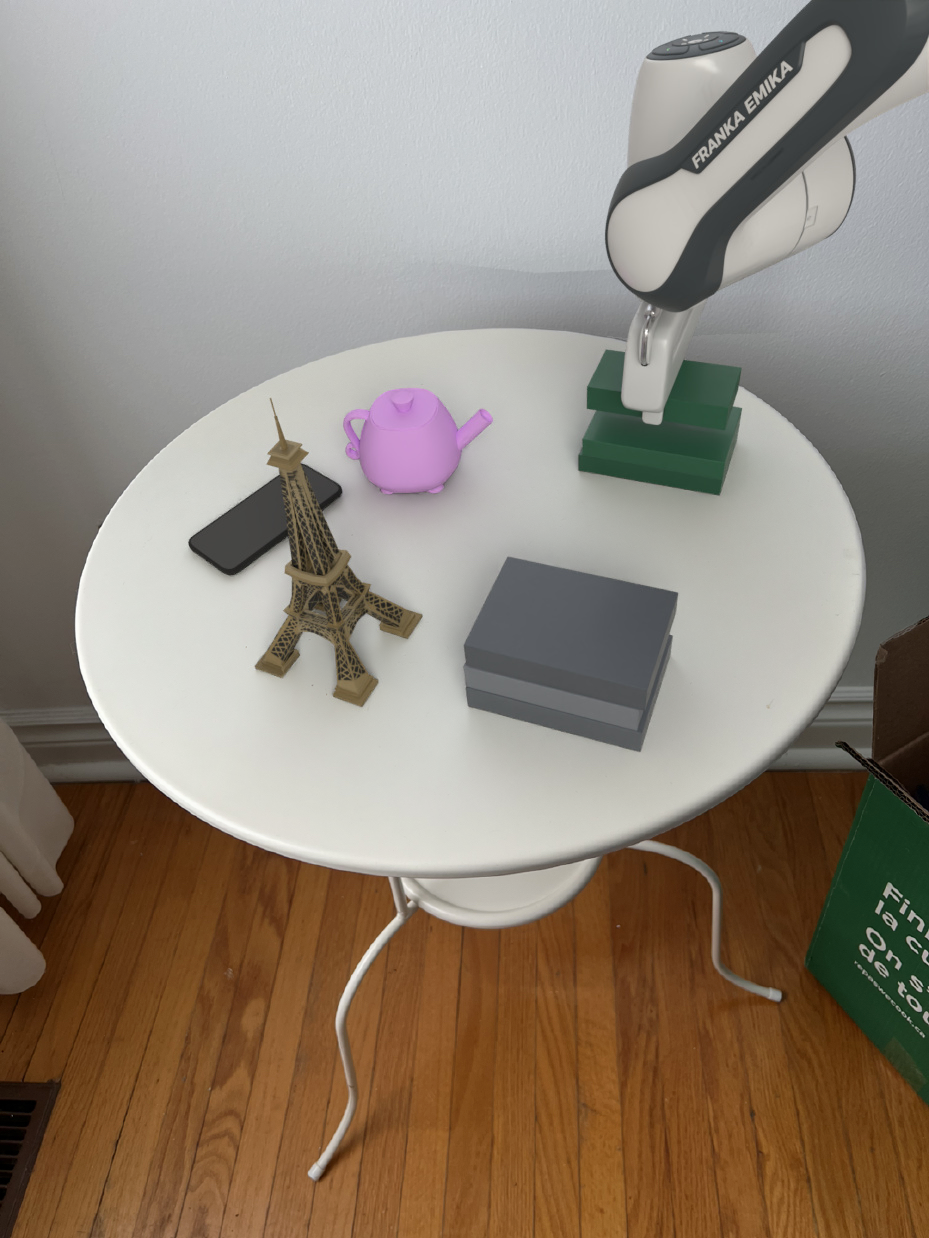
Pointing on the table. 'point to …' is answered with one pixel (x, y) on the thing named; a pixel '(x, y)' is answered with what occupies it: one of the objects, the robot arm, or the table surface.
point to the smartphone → (255, 524)
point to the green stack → (659, 451)
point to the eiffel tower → (323, 586)
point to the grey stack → (570, 651)
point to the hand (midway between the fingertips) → (663, 395)
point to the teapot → (410, 440)
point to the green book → (672, 391)
